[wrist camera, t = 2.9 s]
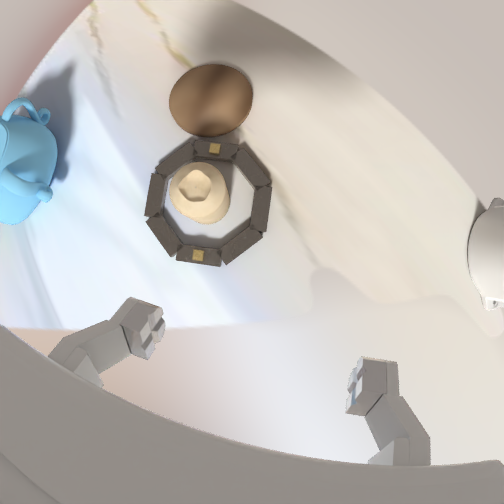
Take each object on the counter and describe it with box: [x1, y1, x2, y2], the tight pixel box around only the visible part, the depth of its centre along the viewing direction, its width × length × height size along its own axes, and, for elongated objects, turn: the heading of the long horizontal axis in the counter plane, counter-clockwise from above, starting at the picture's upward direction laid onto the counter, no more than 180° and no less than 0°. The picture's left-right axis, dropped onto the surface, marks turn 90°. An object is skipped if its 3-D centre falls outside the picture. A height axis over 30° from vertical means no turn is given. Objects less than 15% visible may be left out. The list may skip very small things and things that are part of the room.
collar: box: [144, 140, 272, 267], centre depth 36 cm, size 15×15×2 cm
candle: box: [169, 162, 230, 224], centre depth 32 cm, size 6×6×10 cm
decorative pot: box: [0, 97, 58, 225], centre depth 29 cm, size 16×16×14 cm
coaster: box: [169, 64, 252, 137], centre depth 36 cm, size 11×11×1 cm
